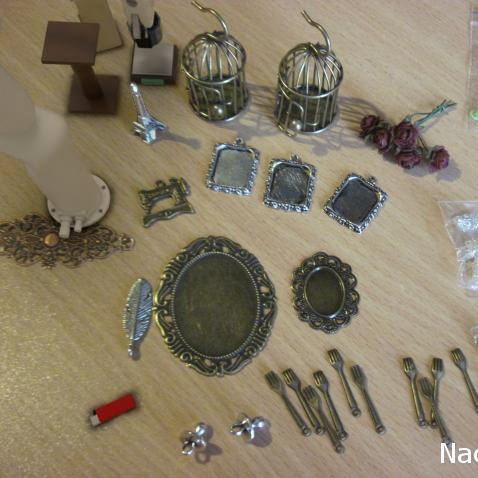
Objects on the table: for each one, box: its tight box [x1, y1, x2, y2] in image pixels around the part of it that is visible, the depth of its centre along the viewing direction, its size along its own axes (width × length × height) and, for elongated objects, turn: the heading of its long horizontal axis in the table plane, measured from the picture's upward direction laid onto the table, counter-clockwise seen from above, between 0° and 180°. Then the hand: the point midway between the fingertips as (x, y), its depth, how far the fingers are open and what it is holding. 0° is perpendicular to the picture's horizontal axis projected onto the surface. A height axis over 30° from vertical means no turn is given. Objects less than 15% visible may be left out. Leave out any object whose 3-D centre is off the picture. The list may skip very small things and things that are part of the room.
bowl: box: [126, 10, 164, 46], centre depth 121 cm, size 7×7×5 cm
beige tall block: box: [69, 0, 123, 53], centre depth 124 cm, size 8×7×21 cm
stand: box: [40, 20, 120, 115], centre depth 119 cm, size 10×10×18 cm
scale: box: [129, 42, 178, 86], centre depth 131 cm, size 11×10×3 cm
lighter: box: [89, 392, 137, 427], centre depth 103 cm, size 3×1×8 cm
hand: (146, 32), depth 122 cm, fingers closed on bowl, 7 cm apart
